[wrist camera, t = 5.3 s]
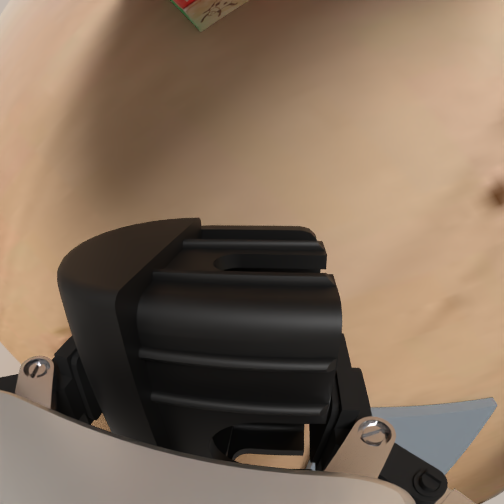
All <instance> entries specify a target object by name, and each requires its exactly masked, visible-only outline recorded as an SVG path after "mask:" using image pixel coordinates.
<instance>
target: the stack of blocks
mask: <svg viewBox="0 0 504 504" xmlns="http://www.w3.org/2000/svg"><path fill="white" fill-rule="evenodd" d="M170 1H171V2H172V3H173V4H174V5H175V6H176V7H177V8H178V9H179V10H180V11H181V12H182V13H183V14H184V15H185V16H186V17H187V18H188V19H189V20H190V21H191V22H192V23H193V24H194V25H195V27H196V28H197V29H198V30H199V31H200V32H202V31H204V30H205V29H207V28H208V27H209V26H211V25H212V24H214V23H215V22H217V21H218V20H219V19H221V18H222V17H224V16H225V15H227V14H228V13H230V12H232V11H233V10H235V9H236V8H238V7H239V6H241V5H243V4H244V3H246V2H248V1H249V0H170Z"/></svg>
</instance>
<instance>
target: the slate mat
mask: <svg viewBox="0 0 504 504" xmlns="http://www.w3.org/2000/svg"><path fill="white" fill-rule="evenodd" d="M496 407H497V404H496V402H495V400H494V399H493V397H492V398H486V399H479V400H472V401H464V402H456V403H447V404H436V405H423V406H407V407H380V408H371V412H372V417H379V418H382V419H384V420H386V421H388V422H389V423H390V424H391V425H392V426H393V428H394V429H395V432H396V439H395V443H396V444H398V445H399V446H401V447H403V448H404V449H406V450H407V451H409V452H411V453H412V454H414V455H416V456H417V457H419V458H420V459H422V460H424V461H425V462H427V463H429V464H430V465H432V466H434V467H436V468H437V469H439V470H440V471H441V472H443V474H444V475H445V474H446V473H447V472H448V471H449V470H450V468H451V467H452V466H453V465H454V464H455V463H456V461H457V460H458V459H459V458H460V457H461V455H462V454H463V453H464V452H465V450H466V449H467V448H468V447H469V445H470V444H471V443H472V441H473V440H474V439H475V437H476V436H477V435H478V433H479V432H480V430H481V429H482V428H483V426H484V425H485V423H486V422H487V421H488V419H489V418H490V416H491V415H492V413H493V412H494V410H495V409H496ZM306 469H312V471H315V463H311V462H310V460H309V462H308V464H307V467H306Z"/></svg>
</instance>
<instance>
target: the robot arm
mask: <svg viewBox="0 0 504 504" xmlns="http://www.w3.org/2000/svg"><path fill="white" fill-rule="evenodd" d="M54 355H55V357H54V358H53V359H52V360H51V359H49V358H48V357H45V356H34V357H31V358H29V359H27V360H26V361H24V362H23V364H22V365H21V367H20V370H19V374H16V375H11V376H6V377H1V378H0V504H476V503H474V502H473V501H471V500H470V499H469V498H467V497H466V496H465V495H463V494H462V493H461V492H459V491H458V490H456V489H455V488H454V489H453V490H451V489H449V488H448V487H447V483H448V482H447V479H446V477H445V475H444V474H443V472H441V471H440V470H439V469H437V468H436V467H434V466H432V465H430V464H429V463H427V462H425V461H424V460H422V459H420V458H419V457H417V456H416V455H414V454H412V453H411V452H409V451H407V450H406V449H404V448H403V447H401V446H399V445H398V444H396V443H395V439H396V432H395V429H394V428H393V426H392V425H391V424H390V423H389V422H388V421H386V420H384V419H382V418H379V417H372V412H371V408H370V404H369V399H368V395H367V391H366V387H365V383H364V379H363V375H362V371H361V369H360V368H352V367H351V363H350V358H349V354H348V350H347V346H346V341H345V337H344V334H343V333H341V342H340V349H339V355H338V361H337V367H336V373H335V379H334V384H333V390H332V395H331V400H330V405H329V410H328V415H327V420H326V424H309V431H310V462H311V463H315V471H312V470H296V469H285V468H275V467H266V466H257V465H249V464H242V463H235V462H229V461H223V460H217V459H211V458H206V457H201V456H196V455H192V454H187V453H183V452H178V451H174V450H170V449H166V448H162V447H158V446H154V445H151V444H147V443H144V442H140V441H137V440H133V439H130V438H127V437H124V436H121V435H118V434H115V433H112V432H109V431H106V430H103V429H100V428H97V427H95V426H92V425H91V424H92V422H93V421H94V420H97V419H98V418H99V417H100V415H101V413H102V411H101V408H100V406H99V404H98V402H97V399H96V397H95V395H94V392H93V390H92V387H91V385H90V382H89V380H88V377H87V375H86V372H85V370H84V367H83V364H82V362H81V359H80V356H79V353H78V350H77V348H76V345H75V342H74V339H73V336H71V337H70V338H69V339H68V340H67V341H66V342H65V343H64V344H63V345H62V346H61V348H60V349H59V350H58V351H57V352H56V353H55V354H54Z"/></svg>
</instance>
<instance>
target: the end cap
mask: <svg viewBox="0 0 504 504" xmlns="http://www.w3.org/2000/svg"><path fill="white" fill-rule="evenodd" d="M326 262H327V254H326V251H325V248H324V245H323V242H322V241H317V240H316V236H315V234H314V233H313V232H312V231H311V230H310V229H309V228H305V227H301V226H217V225H210V226H201V220H200V218H179V219H167V220H159V221H152V222H146V223H140V224H135V225H131V226H127V227H122V228H119V229H115V230H112V231H109V232H106V233H103V234H101V235H98V236H95V237H93V238H91V239H89V240H87V241H85V242H83V243H81V244H80V245H78V246H77V247H75V248H74V249H73V250H71V251H70V252H69V253H68V254H67V255H66V256H65V257H64V258H63V260H62V262H61V264H60V266H59V268H58V271H57V282H58V287H59V291H60V295H61V299H62V302H63V306H64V310H65V313H66V316H67V320H68V323H69V326H70V329H71V333H72V336H73V339H74V342H75V345H76V348H77V350H78V353H79V356H80V359H81V362H82V364H83V367H84V370H85V372H86V375H87V377H88V380H89V382H90V385H91V387H92V390H93V392H94V395H95V397H96V399H97V402H98V404H99V406H100V408H101V411H102V413H103V415H104V417H105V419H106V421H107V423H108V426H109V428H110V430H111V432H112V433H115V434H118V435H121V436H124V437H127V438H130V439H133V440H137V441H140V442H144V443H147V444H151V445H154V446H158V447H162V448H166V449H170V450H174V451H178V452H183V453H187V454H192V455H196V456H201V457H206V458H211V459H217V460H223V461H229V462H235V463H239V462H236V461H234V460H235V459H236V458H237V457H238V456H240V455H242V454H247V453H250V454H266V455H301V456H303V453H304V424H326V420H327V415H328V410H329V405H330V400H331V395H332V390H333V384H334V379H335V373H336V367H337V361H338V355H339V349H340V342H341V333H342V309H341V301H340V296H339V293H338V289H337V286H336V283H335V279H334V276H333V274H326V273H320V269H326ZM296 470H312V469H296Z"/></svg>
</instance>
